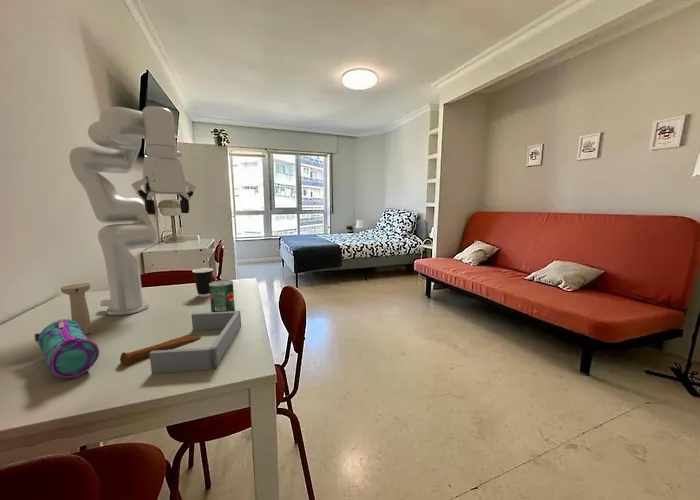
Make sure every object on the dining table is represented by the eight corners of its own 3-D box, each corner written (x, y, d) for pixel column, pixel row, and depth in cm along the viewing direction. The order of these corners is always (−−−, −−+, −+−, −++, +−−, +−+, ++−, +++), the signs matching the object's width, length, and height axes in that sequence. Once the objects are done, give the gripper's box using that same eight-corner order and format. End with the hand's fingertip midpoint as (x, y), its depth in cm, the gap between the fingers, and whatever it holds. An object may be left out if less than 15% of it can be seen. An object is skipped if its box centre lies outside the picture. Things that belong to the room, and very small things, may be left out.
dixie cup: (219, 294, 131) (217, 269, 129) (201, 299, 124) (199, 272, 122) (208, 291, 135) (206, 267, 133) (190, 295, 128) (188, 270, 127)
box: (151, 373, 70) (149, 353, 69) (194, 328, 95) (192, 313, 94) (216, 369, 72) (214, 349, 71) (241, 326, 97) (240, 310, 96)
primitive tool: (191, 335, 91) (190, 324, 91) (203, 339, 88) (202, 328, 88) (118, 365, 75) (116, 352, 74) (129, 371, 72) (127, 358, 71)
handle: (98, 333, 92) (91, 285, 90) (69, 340, 88) (61, 289, 85) (95, 328, 96) (89, 282, 93) (68, 335, 91) (60, 286, 89)
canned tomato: (209, 311, 109) (206, 282, 108) (231, 307, 114) (229, 278, 112) (214, 318, 103) (211, 287, 101) (237, 313, 108) (235, 283, 106)
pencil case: (38, 358, 78) (31, 322, 76) (83, 345, 85) (77, 312, 83) (52, 388, 65) (45, 346, 63) (104, 370, 72) (98, 332, 70)
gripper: (184, 158, 97) (190, 212, 99) (121, 151, 82) (130, 214, 85) (198, 156, 93) (203, 212, 95) (134, 148, 78) (143, 215, 81)
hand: (169, 213), depth 90 cm, fingers open, 9 cm apart
